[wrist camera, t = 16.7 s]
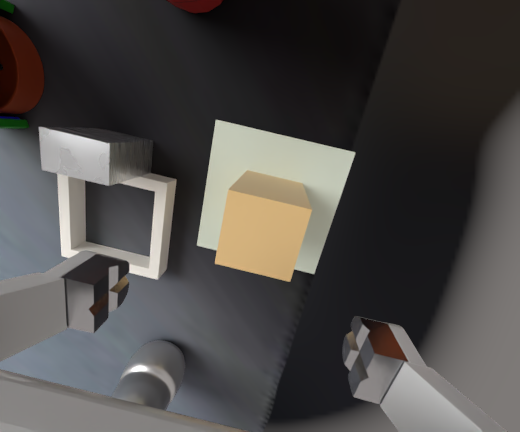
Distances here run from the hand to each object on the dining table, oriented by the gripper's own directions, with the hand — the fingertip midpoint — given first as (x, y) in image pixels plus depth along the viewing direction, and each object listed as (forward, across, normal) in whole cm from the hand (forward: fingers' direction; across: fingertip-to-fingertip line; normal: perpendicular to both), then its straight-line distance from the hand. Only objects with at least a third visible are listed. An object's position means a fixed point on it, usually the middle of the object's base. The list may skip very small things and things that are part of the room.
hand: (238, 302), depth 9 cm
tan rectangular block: (+15, 0, 0) cm, 15 cm away
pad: (+15, 0, 0) cm, 15 cm away
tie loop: (+15, +14, +4) cm, 21 cm away
